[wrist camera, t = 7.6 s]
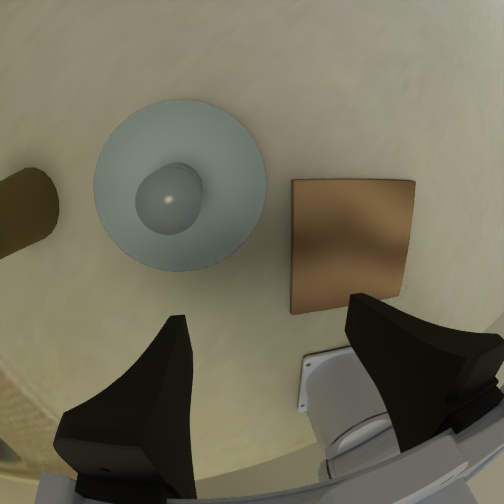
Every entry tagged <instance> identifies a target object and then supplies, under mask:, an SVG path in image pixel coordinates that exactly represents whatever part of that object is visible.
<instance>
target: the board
mask: <svg viewBox="0 0 504 504" xmlns="http://www.w3.org/2000/svg"><path fill="white" fill-rule="evenodd" d="M415 185H416V182H415V181H412V180H390V179H294V180H292V243H291V291H290V313H291V315H296V314H302V313H309V312H315V311H322V310H328V309H334V308H339V307H345V306H349V299H350V294H356V293H364V294H367V295H369V296H372V297H374V298H376V299H378V300H382V299H387V298H392V297H396V296H399V293H400V288H401V283H402V279H403V274H404V268H405V263H406V257H407V252H408V245H409V239H410V232H411V224H412V216H413V207H414V197H415Z"/></svg>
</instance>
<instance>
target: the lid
mask: <svg viewBox="0 0 504 504" xmlns="http://www.w3.org/2000/svg"><path fill="white" fill-rule="evenodd" d="M266 185H267V182H266V171H265V166H264V162H263V159H262V156H261V153H260V150H259V148H258V146H257V144H256V143H255V141H254V139H253V138H252V136H251V135H250V133H249V132H248V131H247V129H246V128H245V127H244V126H243V125H242V124H241V123H240V122H239V121H238V120H236V119H235V118H234V117H233V116H231V115H230V114H229V113H227V112H225V111H223V110H222V109H220V108H218V107H215V106H213V105H210V104H208V103H204V102H200V101H195V100H186V99H180V100H168V101H163V102H158V103H155V104H152V105H149V106H147V107H145V108H143V109H141V110H139V111H137V112H136V113H134V114H132V115H131V116H129V117H128V118H127V119H126V120H125V121H123V122H122V123H121V124H120V125H119V126H118V127H117V128H116V129H115V131H114V132H113V133H112V134H111V136H110V137H109V139H108V140H107V142H106V143H105V145H104V147H103V149H102V151H101V153H100V156H99V158H98V162H97V165H96V169H95V175H94V200H95V205H96V209H97V212H98V215H99V218H100V221H101V223H102V225H103V227H104V229H105V230H106V232H107V233H108V235H109V236H110V238H111V239H112V240H113V241H114V243H115V244H116V245H117V246H118V247H119V248H120V249H121V250H122V251H123V252H125V253H126V254H127V255H129V256H130V257H132V258H133V259H134V260H136V261H138V262H140V263H142V264H144V265H147V266H150V267H152V268H156V269H160V270H164V271H173V272H184V271H192V270H198V269H202V268H205V267H208V266H211V265H213V264H216V263H218V262H219V261H221V260H223V259H225V258H226V257H228V256H229V255H231V254H232V253H233V252H235V251H236V250H237V249H238V248H239V247H240V246H241V245H242V244H243V243H244V242H245V241H246V240H247V238H248V237H249V236H250V234H251V233H252V231H253V230H254V228H255V227H256V225H257V222H258V220H259V218H260V216H261V213H262V210H263V207H264V202H265V197H266Z"/></svg>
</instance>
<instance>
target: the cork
mask: <svg viewBox="0 0 504 504" xmlns="http://www.w3.org/2000/svg"><path fill="white" fill-rule="evenodd" d="M58 215H59V199H58V195H57V191H56V188H55V186H54V184H53V182H52V181H51V179H50V178H49V177H48V176H47V175H46V174H45V173H44V172H43V171H41V170H39V169H37V168H25V169H23V170H21V171H19V172H17V173H15V174H13V175H11V176H9V177H8V178H6V179H4V180H2V181H0V259H2V258H4V257H6V256H8V255H10V254H12V253H14V252H16V251H18V250H20V249H23V248H25V247H27V246H29V245H31V244H33V243H36V242H38V241H40V240H42V239H45V238H46V237H47V236H48V235H49V234H51V233H52V231H53V229H54V227H55V226H56V224H57V219H58Z"/></svg>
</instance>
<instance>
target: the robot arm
mask: <svg viewBox="0 0 504 504" xmlns="http://www.w3.org/2000/svg"><path fill="white" fill-rule="evenodd" d="M345 333H346V335H347V338H348V340H349V342H350V345H351V347H347V348H343V349H338V350H334V351H329V352H324V353H319V354H314V355H309V356H306V357H305V358H304V359H303V365H302V374H301V383H300V391H299V400H298V407H297V410H298V412H300V413H301V412H307V414H308V417H309V420H310V422H311V425H312V428H313V430H314V433H315V436H316V438H317V441H318V444H319V446H320V448H321V450H322V451H323V452H324V453H325V454H326V457H327V459H325V460H323V461H321V464H320V467H319V470H318V476H319V483H315V484H311V485H307V486H303V487H298V488H293V489H289V490H283V491H278V492H272V493H267V494H259V495H252V496H242V497H231V498H217V499H197V495H196V488H195V481H194V473H193V464H192V453H191V440H190V405H191V393H192V381H193V351H192V347H191V342H190V337H189V333H188V328H187V323H186V318H185V315H173V316H170V317H169V318H168V320H167V321H166V323H165V324H164V326H163V327H162V329H161V330H160V331H159V333H158V334H157V336H156V337H155V339H154V340H153V341H152V343H151V344H150V345H149V347H148V348H147V349H146V350H145V352H144V353H143V354H142V355H141V356H140V358H139V359H138V360H137V361H136V362H135V363H134V364H133V365H132V366H131V367H130V368H129V369H128V370H127V371H126V372H125V373H124V374H123V375H122V376H121V377H120V378H118V379H117V380H116V381H115V382H113V383H112V384H111V385H110V386H109V387H107V388H106V389H105V390H103V391H102V392H100V393H99V394H97V395H96V396H94V397H93V398H91V399H89V400H88V401H86V402H84V403H82V404H80V405H78V406H76V407H74V408H72V409H71V410H69V411H66V412H64V413H63V416H62V418H61V421H60V423H59V426H58V429H57V432H56V436H55V439H54V442H53V446H54V449H55V451H56V452H57V453H58V455H59V456H60V457H61V458H62V459H63V460H64V461H65V462H66V463H67V464H68V465H69V466H71V467H72V468H73V469H74V470H75V471H76V472H77V473H78V477H77V481H76V480H75V479H73V478H70V477H68V476H64V475H61V474H57V473H54V472H50V471H47V470H42V474H41V478H40V482H39V486H38V490H37V495H36V499H35V504H478V503H477V501H476V499H475V498H474V496H473V494H472V492H471V491H470V489H469V487H468V486H467V484H466V482H467V481H468V480H470V479H471V478H472V477H473V476H475V475H476V474H477V473H479V472H480V471H481V470H482V469H483V468H485V467H486V466H487V465H488V464H489V463H491V462H492V461H493V460H494V459H495V458H496V457H497V456H499V455H500V454H501V453H502V452H503V451H504V385H503V386H502V387H501V388H500V389H499V388H498V387H497V386H496V385H497V384H498V379H497V378H496V377H495V375H496V374H497V372H498V370H499V368H500V366H501V365H502V363H503V361H504V339H503V338H502V337H501V336H500V335H498V334H490V333H474V332H466V331H460V330H455V329H451V328H446V327H442V326H439V325H435V324H432V323H429V322H426V321H424V320H421V319H418V318H416V317H414V316H411V315H409V314H407V313H405V312H402V311H400V310H398V309H396V308H394V307H392V306H390V305H388V304H386V303H384V302H382V301H380V300H378V299H376V298H374V297H372V296H369V295H367V294H364V293H356V294H350V299H349V306H348V313H347V319H346V325H345ZM308 363H309V364H308Z"/></svg>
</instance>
